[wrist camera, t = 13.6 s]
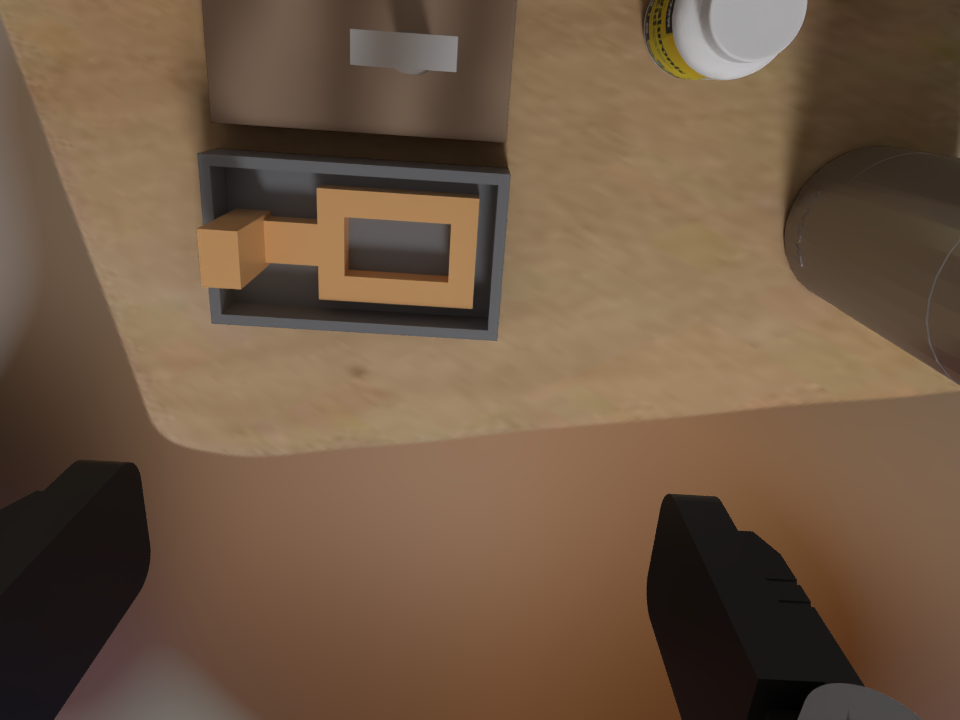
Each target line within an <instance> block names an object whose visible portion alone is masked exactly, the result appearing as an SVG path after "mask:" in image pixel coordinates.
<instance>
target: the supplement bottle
mask: <svg viewBox="0 0 960 720" xmlns="http://www.w3.org/2000/svg"><path fill="white" fill-rule="evenodd" d="M806 10H807V0H651V1H650V3H649V5H648V8H647V11H646V15H645V19H644V40H645V45H646V48H647V51H648V53H649V55H650V57H651V58H652V60H653V61H654V63H655V64H656V65H657V66H658V67H659V68H660V69H661V70H663V71H664V72H666V73H668V74H669V75H672V76H674V77H678V78H683V79H693V80H732V79H737V78H741V77H744V76H747V75H750V74H752V73H754V72H756V71H758V70H760V69H761V68H763V67H764V66H766V65H767V64H768V63H769V62H770V61H771V60H772V59H773V58H775V57H776V55H777V54H778V53H779V52H781V51H782V50H783V49H784V48H786V47H787V46H788V45H789V44H790V43H791V41H792V40H793V39H794V38H795V36H796V35H797V33H798V32H799V30H800V28H801V26H802V24H803V21H804V18H805V15H806Z"/></svg>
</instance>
